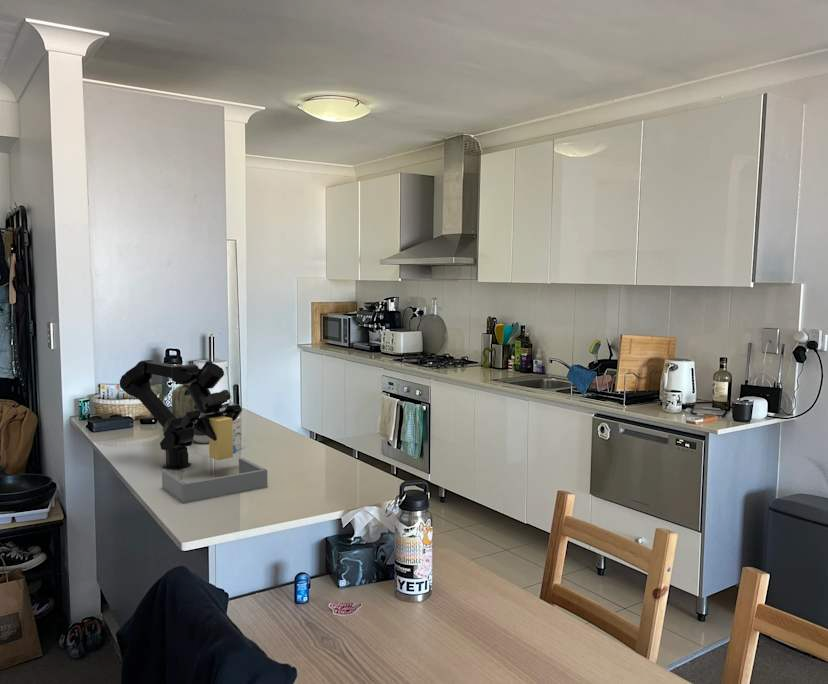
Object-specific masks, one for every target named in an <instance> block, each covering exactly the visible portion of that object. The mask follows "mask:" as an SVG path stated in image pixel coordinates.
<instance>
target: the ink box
mask: <svg viewBox="0 0 828 684" xmlns="http://www.w3.org/2000/svg"><path fill="white" fill-rule="evenodd" d="M232 426H233V454H234V453H235V452H237V451H240V450H241V449H242V417H241V416H238V417H237V419H236V420H234V421H232Z"/></svg>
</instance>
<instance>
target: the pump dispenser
mask: <svg viewBox="0 0 828 684" xmlns="http://www.w3.org/2000/svg"><path fill="white" fill-rule="evenodd" d="M196 410H198V409H196ZM193 424H194V422H193ZM194 426H195V425H193V427H192V428H194ZM193 440H195V441H196V443H199V444H209V437H208V436H207V435H205V434H203V433H202V432H200V431H198V430H194V438H193Z"/></svg>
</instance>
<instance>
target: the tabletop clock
mask: <svg viewBox="0 0 828 684" xmlns="http://www.w3.org/2000/svg"><path fill="white" fill-rule="evenodd" d="M190 384H191V383H188V384H181V385H179V386H178V387H176V388H175V389H173V390H172V392H171V413H172V414H173V415H174V416H175V417H176V418H181V417H184V416H185V414H186V412H189V411H195V409H194V406H195V403H194V401H193V399H192V397H191V395H184V393H185V390H186V387H189V385H190Z"/></svg>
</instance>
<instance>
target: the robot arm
mask: <svg viewBox="0 0 828 684" xmlns="http://www.w3.org/2000/svg"><path fill="white" fill-rule="evenodd" d="M153 375H155V376H160V377H165V378H169V379H171V381H172V382H174V383H176V384H178V385H182V384H188V383H191V384H190V385H189V387H186V390H185V393H184V395H191V397H192V399H193V401H194V403H195V406H194V409H195V411H189V412H186V414H185V416H184V417H181V418H176V417H175V416H174V415H173V414H172V410H171V411H170V409H169V408H168V407H167V406H166V404H165V403H164V402H163V401H162V400H161V399H160V398H159V397H158V396H157V395H156V394H155V392H154V391H153V390H152V389H151V379H152V378H153ZM224 376H225V371H224V369H223V367H221V366H219V365H218V364H215V363H213V361H212V360H210V361H209V360H208V361H206V362H205V363H204V364H203V366H202V368H200V367H199V365H196V364H181V365H175V364H171V363H165V362H162V361H160V362H159V361H157V360H152V359H148V360H147V359H146V360H140V361H139V362H137V364H136V365H135V366H133V367H132V368H130V369H129V370H128V371H125V373H124V374H123V375H122V376H121V377H120V378H119V379H120V380H119V385H120V388H121V389H122V391H123V392H125V393H126V394H127V395H128V396H131V397H134V398H136V399H138V401H140V403H141V404H142V405H143V406H144V407H145V408H146V409H147V410H148V413H150V414H151V415H152V416H153V418H154V419H156V421H157V422H158V423H159V425H160V426H161V427H162V429H163V430H162V431H163V436H164V437H163V438H162V440H161V441H160V442H159V446H160V450H162V451H165V464H163V465H162V468H164V469H173V470H180V469H183V468H186V467H188V466H192V463H191V462H189V451H188V447H191V446H192V444H193V441H194V430H198V431H200V432H202V433H203V434H205V435H207V436H208V437H210V438H211V439H213V440H214V441H216V439H217V438H216V435H215V433H214V431H213V429H212V427H211V425H210V423H209V418H215V417H221V416H224V417H229V418H232V421H234V420H236V419H237V417H240V415H241V414H242V411H243V408H242V406H241V405H240V404H238V403H237V404H236V403H235V404H229V405H228V404H227V406H226V407H225V409H224V410H220V409H222V408H223V404H225V403H227V402H228V401H229V400H231V398H232V396H231V392H230V391H229V390H228V389H223V390H221V391H220V392H213V393H212V392H211V391H210V389H211V390H212V389H213V388H214V387H215V386H217V384H218V383H219V382H220V381H221V379H222V378H223V377H224ZM196 409H198V410H196ZM193 422H194V424H193ZM193 425H195V426H194V428H192V427H193Z"/></svg>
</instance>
